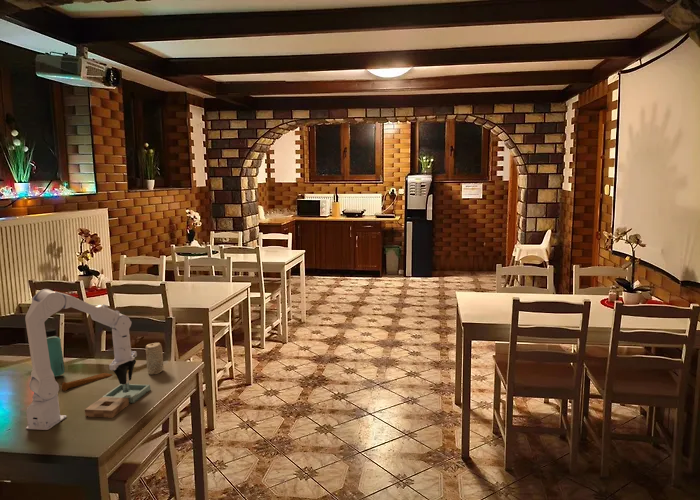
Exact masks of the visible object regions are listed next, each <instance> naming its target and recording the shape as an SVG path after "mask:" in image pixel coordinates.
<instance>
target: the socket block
mask: <svg viewBox="0 0 700 500" xmlns="http://www.w3.org/2000/svg"><path fill="white" fill-rule="evenodd" d="M128 406H130V403H129V398H115V397H103V396H101V397H100V398H99V399H98V400H96V401H95V402H93V403H91V404H90V405H89V406H88V407H86V408H84V416H85V417H86V418H87V416H88V417H91V418H108V419H109V418H111V419H112V418H114V417H116V415H118V414H120V412H121V411H122V412H123V410H124V409H125V407H126V408H127V407H128Z"/></svg>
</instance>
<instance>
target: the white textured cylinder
mask: <svg viewBox="0 0 700 500" xmlns="http://www.w3.org/2000/svg"><path fill="white" fill-rule="evenodd" d="M163 351H164V350H163V346H162V343H160V342H152V343H148V344H146V345H145V355H146V357H145V358H146V369H147V373H148V374H149V375H152V376H153V375H158V374H160V373H161V372H162V371H163V370H164V357H163V355H164V354H163Z"/></svg>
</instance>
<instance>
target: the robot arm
mask: <svg viewBox="0 0 700 500" xmlns="http://www.w3.org/2000/svg"><path fill="white" fill-rule="evenodd" d="M70 308H72V309H76V310H78V311H79V312H83V313H86V314H88V315H90V318H91V320H92V321H95V322H97V323H99V324H102V325H104V326H107V327H109V328H110V329H111V335H112V346H113V355H114V359H113V360H112V362H111V363H109V365H108V368H109V371H113V372H114V374H115V376H116V378H117V380H118V382H119V385H120V384H126V381H127V377H126V375H127V369H129V372H128V374H129V381H132V379H133V377H132V376H133V372H134V367H135V365H136V363H137V360H136V359H135V358H136V357H137V356H138V353H137V351H135V350H134V351H133V350H132V347H131V345H132V344H131V335H130V328H131V327H132V320H131V319H130V317H129V316H128V315H125V314H122V313H120V311H119V310H117V309H116V310H114V309H112V308H109V305H106V304H98V305H93V304H90V303H89V302H86V301H83V299H80V298H78V297H75V296H74V295H69V294H67V293H64V292H58V291H54V290H52V289H49V288H44V289H40V290H39V291H38V292H37V293H36V294H34V296H33V297H32V298H31V303H30V305H29V308H28V310H27V312H26V314H25V318H24V319H25V326H26V333H27V338H28V340H27V341H28V347H29V354H30V359H31V360H30V361H31V367H32V371H31V372H30V380H29V384H28V387H29V389H30V391H31V392H33V395H32V400H31V401H32V402H31V403H30V404H29V405H28V406H27V408H26V420H27V421H26V422H27V426H26V427H25V429H26V430H38V431H39V430H41V431H42V430H43V431H48V430H50V429H51V428H53V427H54V426H56V425H57V424H59V423H60V422H61V421H63V420H65V419H66V418H67V415H65V414H64V415H63V414H62V415H61V411H60V403H59V395H58V394H59V391H60V384H59V383H58V381H56V379H55V377H56V376H54V374H53V372H52V370H51V366H50V359H49V352H48V345H47V338H48V337H47V336H46V326H45V322H46V321H47V320H48V319H49V318H50V317H51V316H53V315H54V314H56V313H58V312H60V311H61V310H62V309H63V310H64V309H65V310H66V309H70Z"/></svg>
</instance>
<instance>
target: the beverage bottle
mask: <svg viewBox="0 0 700 500" xmlns="http://www.w3.org/2000/svg"><path fill="white" fill-rule="evenodd" d="M45 331H46V338H47V345H48V352H49V359H50V366H51V370H52V372H53V374H54V377H58V376H61V375H63V374H65V372H66V371H65V370H66V369H65V368H66V367H65V361H64V356H63V349H62V348H63V347H62V341H61V338H60V337H59V336H56V335H58V333H57V329H55V328H49V329H45Z"/></svg>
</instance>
